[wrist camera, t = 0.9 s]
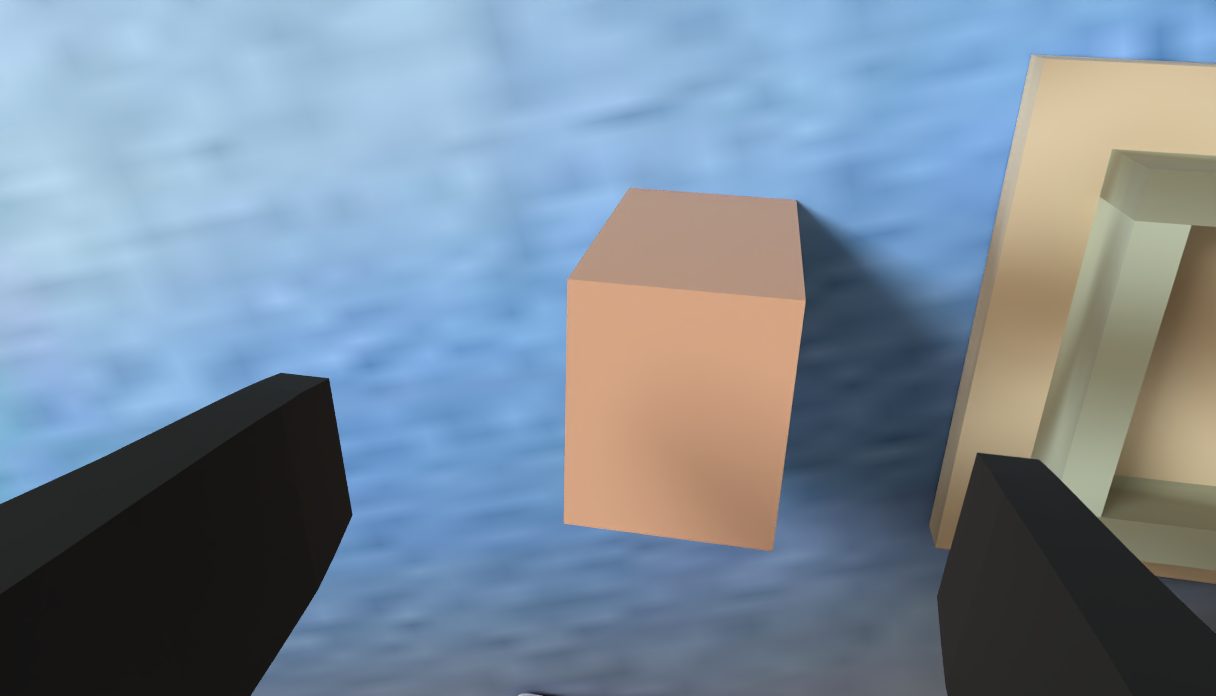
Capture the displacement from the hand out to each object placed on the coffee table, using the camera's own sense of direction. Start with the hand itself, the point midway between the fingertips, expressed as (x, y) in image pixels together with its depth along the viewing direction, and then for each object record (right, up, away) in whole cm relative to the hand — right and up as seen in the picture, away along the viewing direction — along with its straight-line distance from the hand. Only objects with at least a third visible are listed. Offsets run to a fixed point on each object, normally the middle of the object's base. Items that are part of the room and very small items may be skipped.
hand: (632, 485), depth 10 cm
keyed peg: (+2, +3, +12) cm, 13 cm away
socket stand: (+14, +2, +10) cm, 17 cm away
